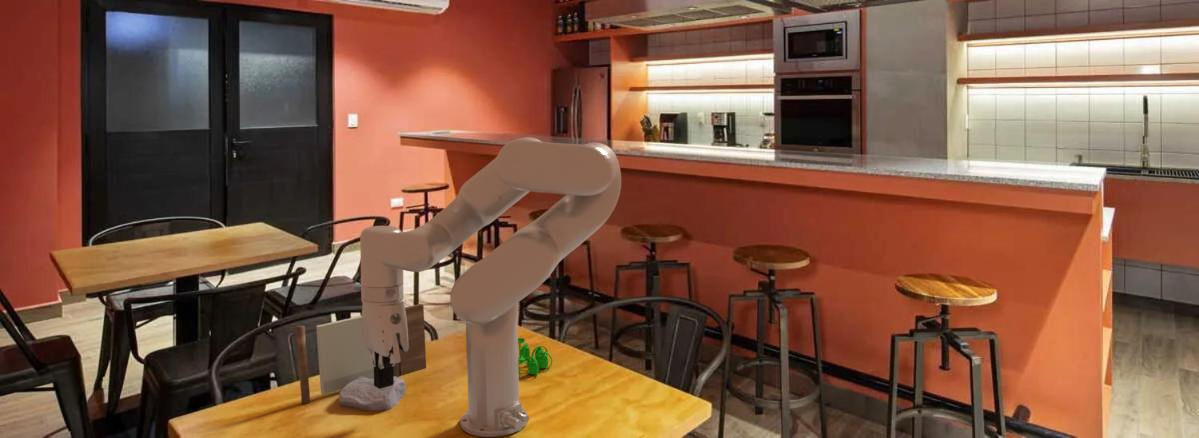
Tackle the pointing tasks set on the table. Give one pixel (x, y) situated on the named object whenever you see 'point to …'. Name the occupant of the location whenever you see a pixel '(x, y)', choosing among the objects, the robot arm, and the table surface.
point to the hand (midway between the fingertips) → (383, 385)
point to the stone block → (372, 394)
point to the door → (342, 354)
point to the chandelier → (536, 362)
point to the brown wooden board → (409, 359)
